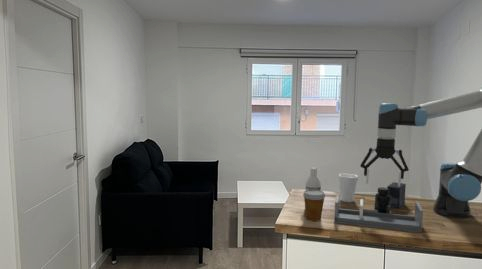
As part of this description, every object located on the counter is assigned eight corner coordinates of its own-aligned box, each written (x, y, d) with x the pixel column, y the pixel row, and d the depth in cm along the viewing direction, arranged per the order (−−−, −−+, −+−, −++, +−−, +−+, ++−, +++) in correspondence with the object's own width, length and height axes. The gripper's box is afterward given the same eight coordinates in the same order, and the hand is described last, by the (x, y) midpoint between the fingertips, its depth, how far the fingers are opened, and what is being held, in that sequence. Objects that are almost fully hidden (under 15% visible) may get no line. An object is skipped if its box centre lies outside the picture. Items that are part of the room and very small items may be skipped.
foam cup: (344, 196, 198) (345, 172, 197) (360, 200, 191) (361, 175, 190) (333, 199, 192) (334, 175, 191) (349, 204, 185) (350, 178, 184)
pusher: (376, 215, 165) (377, 200, 164) (377, 223, 156) (378, 207, 155) (359, 213, 167) (360, 199, 166) (359, 221, 158) (360, 205, 157)
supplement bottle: (391, 217, 167) (392, 190, 166) (375, 215, 168) (376, 189, 167) (388, 212, 174) (389, 187, 172) (373, 211, 175) (374, 186, 174)
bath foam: (318, 212, 172) (319, 170, 170) (303, 210, 175) (304, 168, 172) (321, 208, 178) (322, 167, 176) (306, 206, 181) (308, 165, 179)
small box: (391, 201, 190) (392, 181, 189) (405, 204, 186) (406, 183, 185) (385, 206, 182) (386, 185, 180) (399, 209, 178) (400, 188, 177)
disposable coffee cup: (328, 219, 163) (329, 192, 162) (315, 224, 157) (316, 196, 156) (311, 213, 170) (311, 188, 169) (297, 218, 164) (298, 192, 162)
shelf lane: (416, 221, 162) (418, 201, 161) (421, 232, 149) (423, 211, 148) (336, 212, 172) (337, 194, 171) (334, 222, 159) (335, 202, 158)
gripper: (415, 138, 167) (411, 185, 169) (356, 135, 174) (354, 179, 177) (417, 140, 159) (413, 189, 162) (356, 137, 167) (353, 183, 170)
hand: (382, 184), depth 169 cm, fingers open, 13 cm apart
